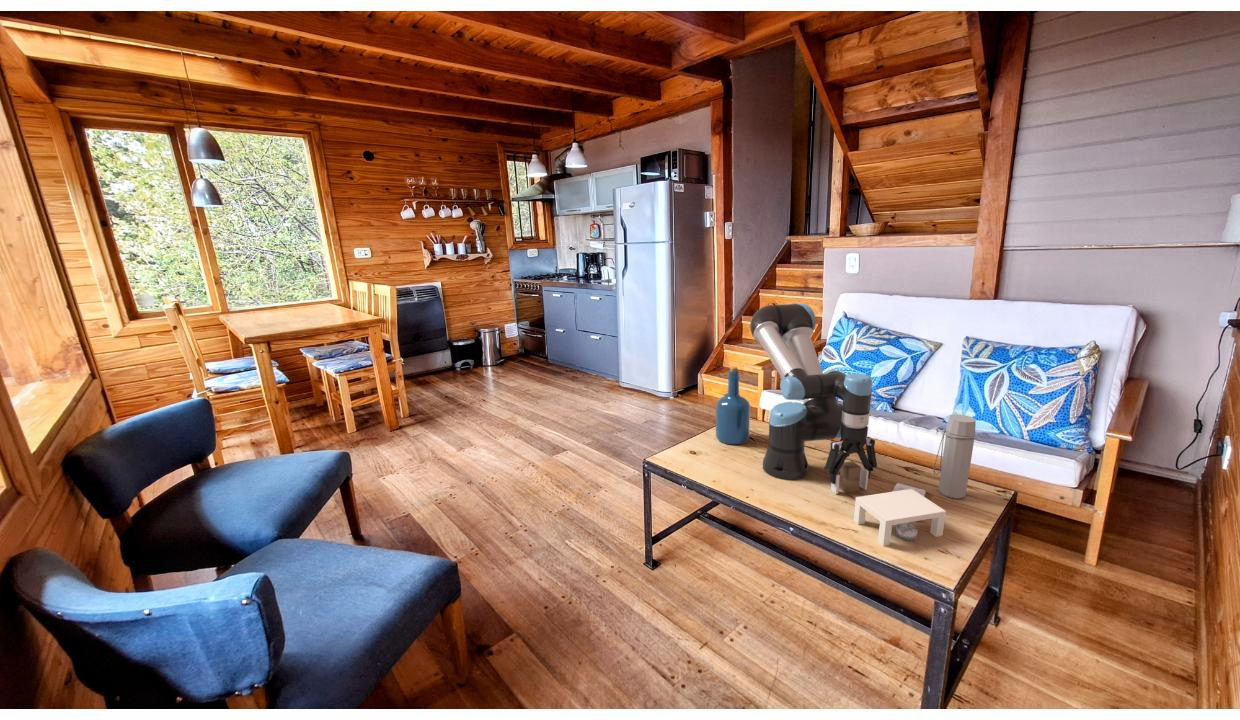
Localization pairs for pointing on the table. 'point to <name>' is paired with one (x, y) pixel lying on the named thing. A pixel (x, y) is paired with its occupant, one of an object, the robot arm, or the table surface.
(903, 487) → the external hard drive
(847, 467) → the walnut paddle
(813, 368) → the robot arm
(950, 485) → the water bottle
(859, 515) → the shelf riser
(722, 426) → the wine bottle
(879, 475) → the table surface
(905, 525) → the steel puck
